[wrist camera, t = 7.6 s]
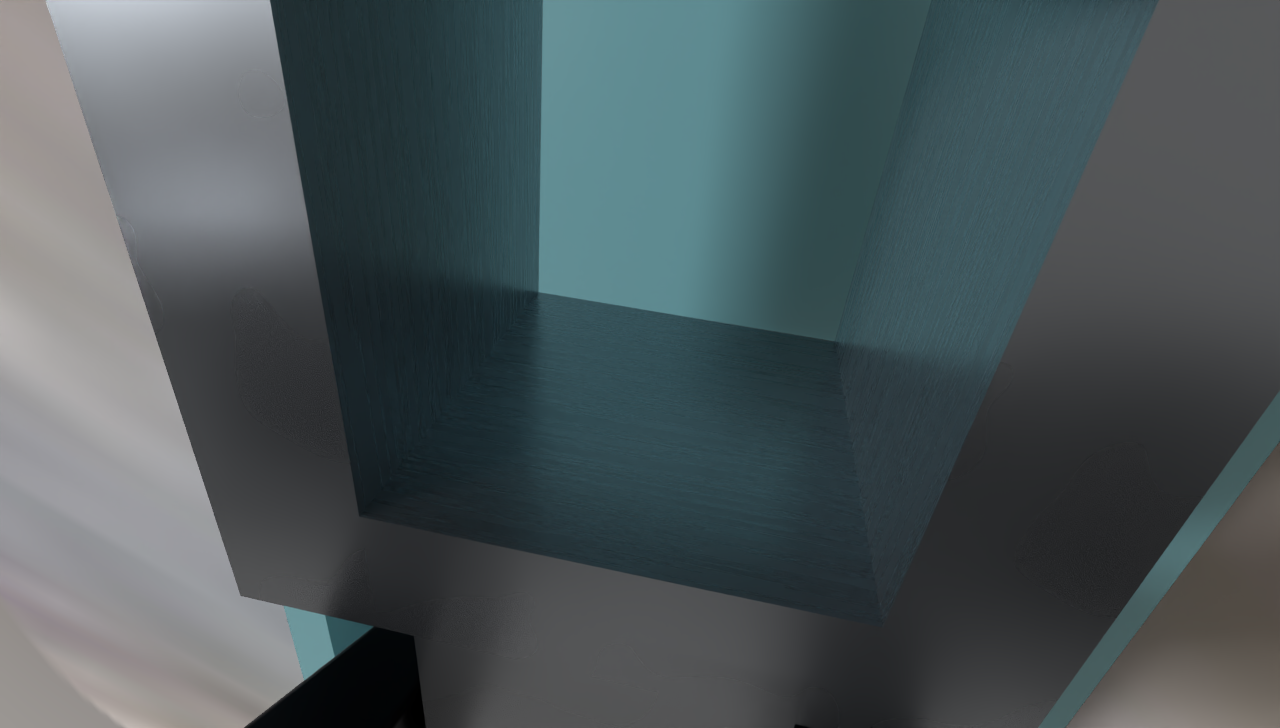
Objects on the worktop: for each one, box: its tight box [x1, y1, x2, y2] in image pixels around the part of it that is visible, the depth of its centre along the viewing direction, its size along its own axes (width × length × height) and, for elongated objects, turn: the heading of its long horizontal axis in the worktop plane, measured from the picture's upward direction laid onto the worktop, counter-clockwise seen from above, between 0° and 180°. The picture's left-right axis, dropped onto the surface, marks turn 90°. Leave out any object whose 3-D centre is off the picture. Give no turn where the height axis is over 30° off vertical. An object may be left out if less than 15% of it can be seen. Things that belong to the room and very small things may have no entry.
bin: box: [284, 0, 1280, 728], centre depth 12 cm, size 16×23×3 cm
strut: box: [46, 0, 1280, 728], centre depth 8 cm, size 16×6×4 cm, turn 174°
